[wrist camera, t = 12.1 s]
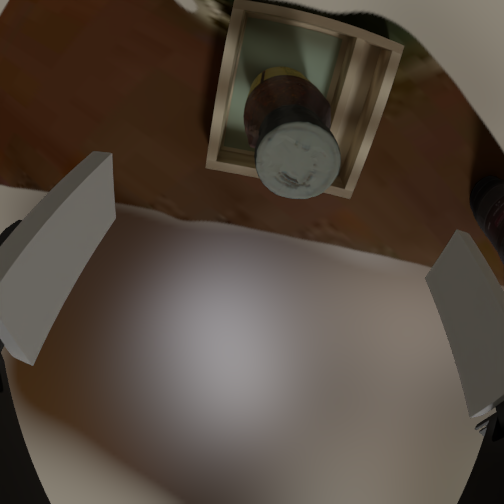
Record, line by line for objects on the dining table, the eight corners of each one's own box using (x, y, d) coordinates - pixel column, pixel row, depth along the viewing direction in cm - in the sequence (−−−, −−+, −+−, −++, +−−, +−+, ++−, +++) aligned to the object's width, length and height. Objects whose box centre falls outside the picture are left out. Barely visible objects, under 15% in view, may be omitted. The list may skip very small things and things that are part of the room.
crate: (239, 3, 23) (234, -2, 20) (390, 43, 24) (404, 45, 21) (212, 153, 35) (205, 168, 32) (343, 182, 36) (350, 199, 33)
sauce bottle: (271, 129, 32) (264, 244, 17) (239, 83, 29) (191, 151, 13) (324, 102, 29) (378, 192, 14) (294, 52, 26) (320, 77, 11)
